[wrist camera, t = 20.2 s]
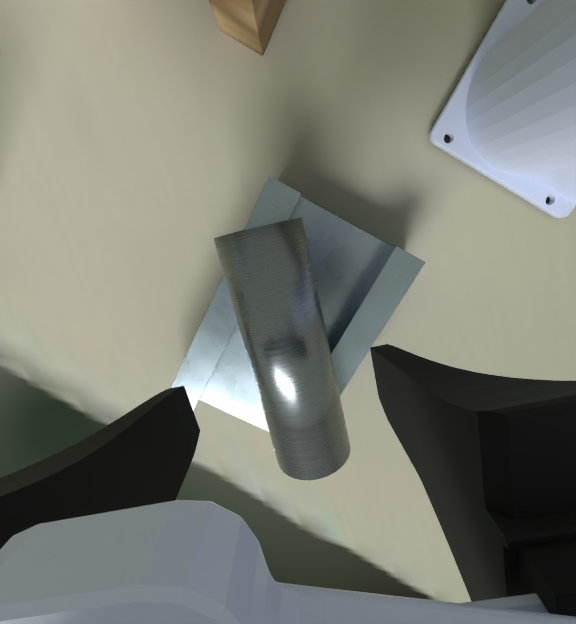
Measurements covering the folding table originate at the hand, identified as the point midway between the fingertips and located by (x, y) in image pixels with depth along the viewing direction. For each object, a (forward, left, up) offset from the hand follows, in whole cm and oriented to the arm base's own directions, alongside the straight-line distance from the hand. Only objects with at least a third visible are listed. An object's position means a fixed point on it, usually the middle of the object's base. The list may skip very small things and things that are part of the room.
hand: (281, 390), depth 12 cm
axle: (+1, +1, -6) cm, 6 cm away
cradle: (0, 0, -9) cm, 9 cm away
